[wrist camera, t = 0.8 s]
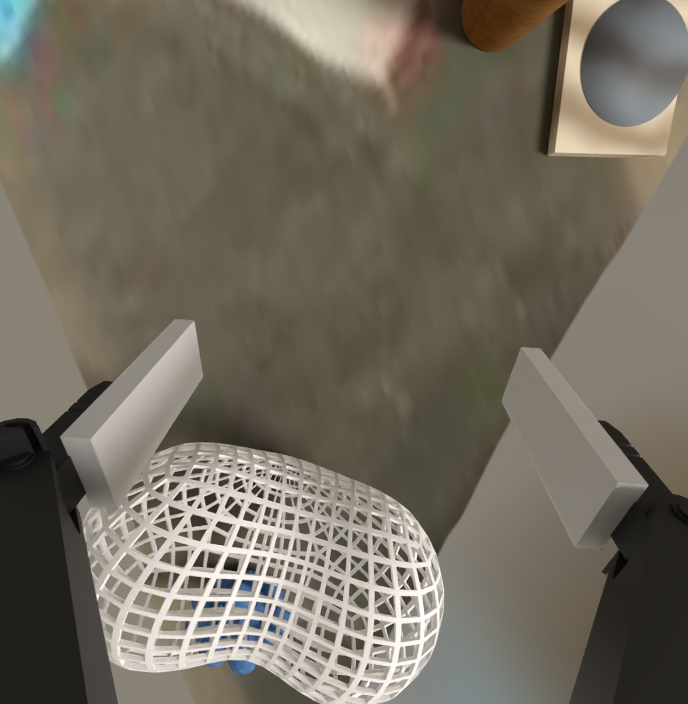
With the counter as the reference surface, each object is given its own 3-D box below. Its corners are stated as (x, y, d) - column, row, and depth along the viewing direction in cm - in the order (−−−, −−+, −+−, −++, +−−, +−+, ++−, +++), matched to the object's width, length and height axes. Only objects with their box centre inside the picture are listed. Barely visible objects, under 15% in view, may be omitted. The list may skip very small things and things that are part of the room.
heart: (416, 442, 45) (513, 608, 24) (369, 546, 48) (416, 778, 27) (184, 367, 40) (42, 489, 19) (147, 487, 43) (-12, 710, 22)
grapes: (296, 543, 47) (292, 636, 35) (293, 587, 49) (288, 690, 37) (201, 542, 46) (164, 638, 34) (201, 587, 47) (165, 694, 36)
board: (576, -88, 34) (587, -102, 32) (703, -77, 35) (718, -90, 33) (547, 155, 38) (555, 152, 37) (659, 158, 40) (671, 155, 38)
